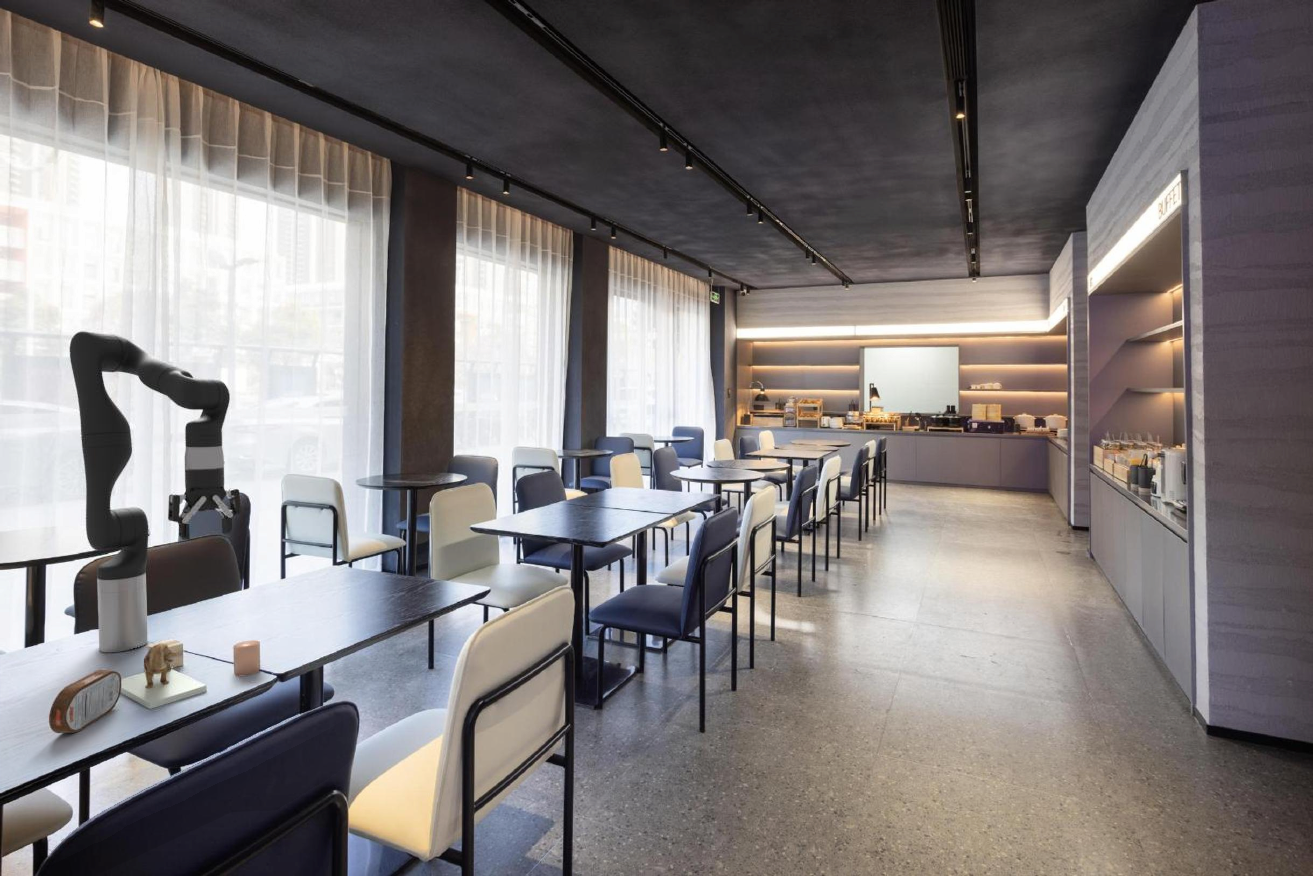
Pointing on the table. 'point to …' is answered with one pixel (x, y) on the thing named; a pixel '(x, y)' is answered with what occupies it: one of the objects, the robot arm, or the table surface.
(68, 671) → the table surface
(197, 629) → the table surface
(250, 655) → the peach rounded cylinder
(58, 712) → the tin
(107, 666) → the table surface
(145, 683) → the sage board
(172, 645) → the birch block
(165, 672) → the lion figurine
